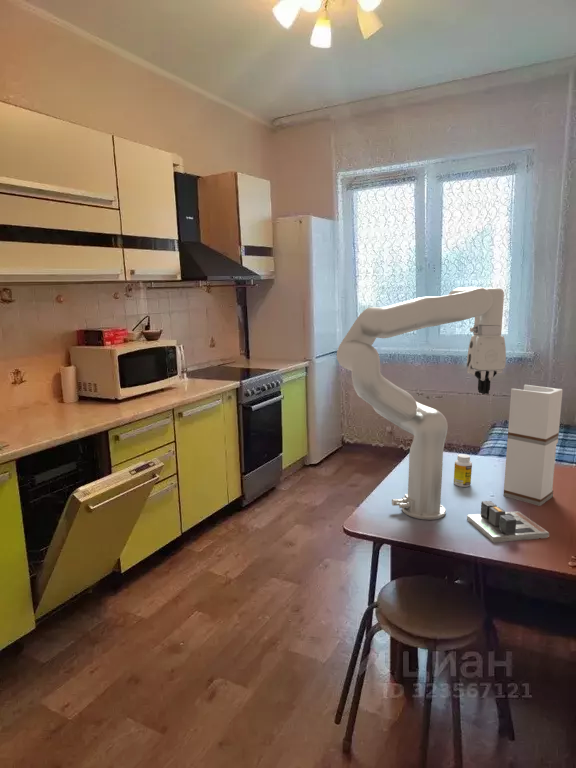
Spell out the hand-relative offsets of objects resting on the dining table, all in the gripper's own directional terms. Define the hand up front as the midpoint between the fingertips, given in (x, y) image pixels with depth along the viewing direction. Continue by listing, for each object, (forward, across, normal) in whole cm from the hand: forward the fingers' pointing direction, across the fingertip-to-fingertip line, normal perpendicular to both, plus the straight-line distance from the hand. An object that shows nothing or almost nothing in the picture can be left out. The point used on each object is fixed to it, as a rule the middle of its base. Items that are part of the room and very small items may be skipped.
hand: (483, 393), depth 156 cm
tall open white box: (+35, +20, +4) cm, 41 cm away
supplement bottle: (+35, +4, +17) cm, 39 cm away
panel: (+35, 0, -16) cm, 39 cm away
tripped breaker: (+33, -3, -16) cm, 37 cm away
